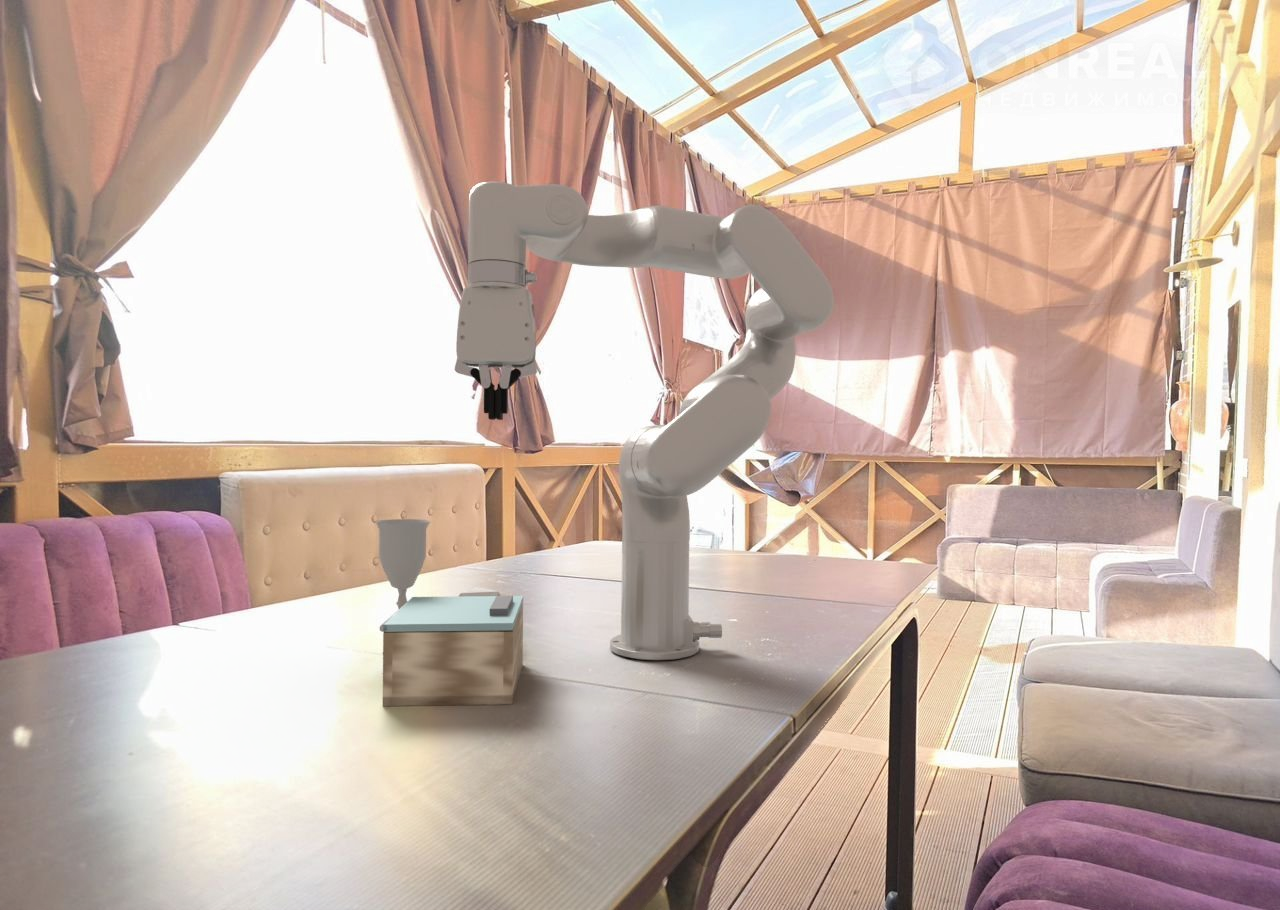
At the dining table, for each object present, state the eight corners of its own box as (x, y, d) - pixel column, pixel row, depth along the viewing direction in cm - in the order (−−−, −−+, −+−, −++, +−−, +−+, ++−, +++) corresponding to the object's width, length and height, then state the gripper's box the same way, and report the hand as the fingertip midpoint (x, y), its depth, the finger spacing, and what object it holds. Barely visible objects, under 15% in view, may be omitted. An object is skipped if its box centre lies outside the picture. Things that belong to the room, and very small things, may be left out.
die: (522, 651, 112) (517, 588, 118) (490, 632, 105) (486, 566, 111) (470, 669, 114) (467, 605, 120) (435, 651, 107) (433, 584, 112)
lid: (523, 602, 103) (523, 589, 103) (512, 630, 87) (513, 615, 87) (410, 603, 102) (410, 590, 102) (379, 631, 86) (379, 617, 86)
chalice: (436, 646, 112) (437, 519, 111) (418, 659, 105) (419, 524, 105) (386, 644, 112) (387, 518, 112) (365, 657, 106) (366, 523, 105)
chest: (522, 664, 103) (523, 603, 103) (512, 704, 87) (512, 631, 87) (413, 665, 102) (413, 603, 102) (382, 706, 86) (383, 632, 86)
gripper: (554, 288, 109) (553, 421, 109) (444, 285, 107) (443, 419, 108) (552, 276, 101) (551, 419, 101) (434, 272, 100) (433, 417, 100)
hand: (495, 419), depth 104 cm, fingers closed
